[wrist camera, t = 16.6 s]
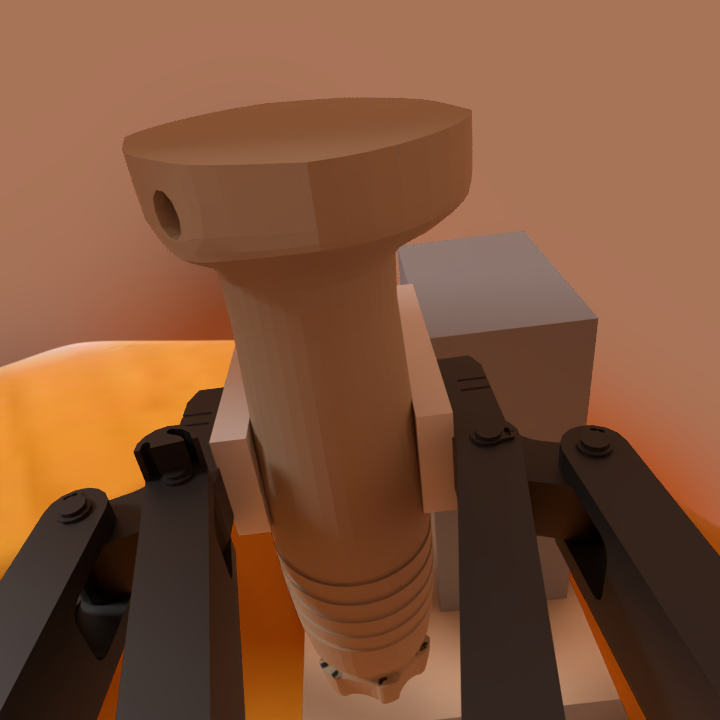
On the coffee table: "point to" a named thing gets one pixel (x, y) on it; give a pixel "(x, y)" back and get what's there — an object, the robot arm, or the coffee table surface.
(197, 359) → the coffee table surface
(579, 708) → the subfloor panel
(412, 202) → the handle
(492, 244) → the tall rectangular block
